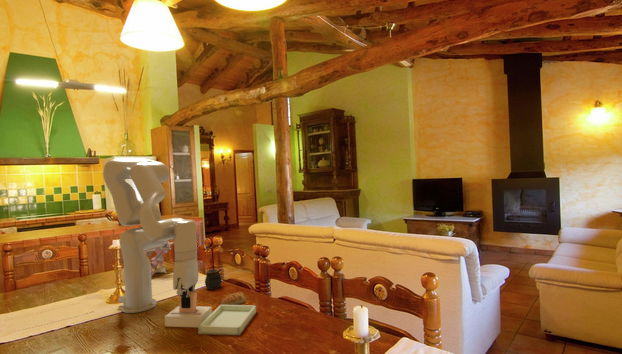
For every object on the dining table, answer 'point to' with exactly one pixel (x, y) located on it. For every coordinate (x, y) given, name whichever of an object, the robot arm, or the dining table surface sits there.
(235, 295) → the pastry
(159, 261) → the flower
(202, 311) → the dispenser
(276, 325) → the dining table surface
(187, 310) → the tan flat block
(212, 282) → the mate gourd
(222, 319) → the tray
